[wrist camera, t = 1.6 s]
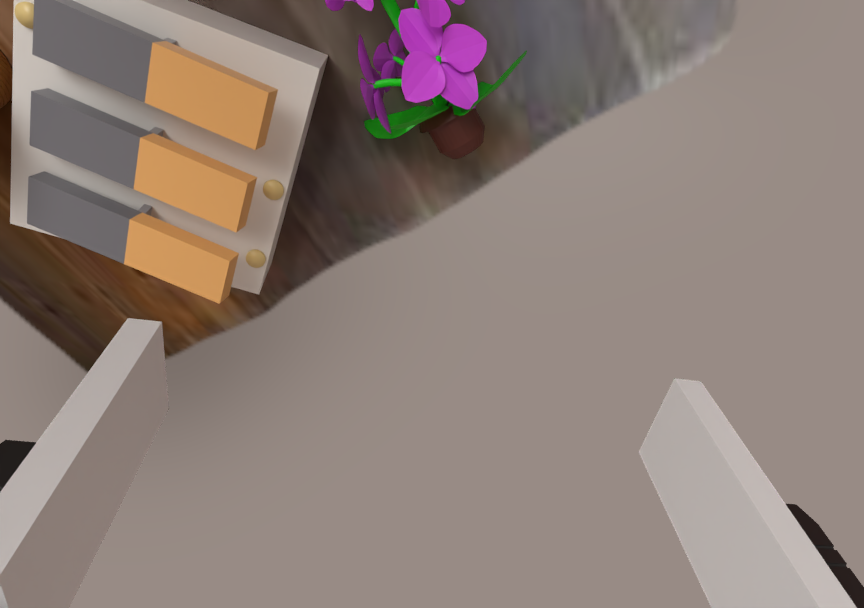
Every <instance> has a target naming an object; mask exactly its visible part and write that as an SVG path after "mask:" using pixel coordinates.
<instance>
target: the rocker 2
mask: <svg viewBox="0 0 864 608" xmlns="http://www.w3.org/2000/svg"><path fill="white" fill-rule="evenodd" d="M27 224H29V225H32V226H34V227H37V228H39V229H41V230H44V231H46V232H49V233H51V234H53V235H56V236H58V237H61V238H63V239H65V240H68V241H70V242H73V243H75V244H77V245H80V246H82V247H85V248H87V249H89V250H92V251H94V252H97V253H99V254H101V255H104V256H106V257H109V258H111V259H113V260H116V261H118V262H121V263H123V264H125V265H128V266H130V267H133V268H135V269H137V270H140V271H142V272H145V273H147V274H149V275H152V276H154V277H157V278H159V279H161V280H164V281H166V282H169V283H171V284H173V285H176V286H178V287H181V288H183V289H185V290H188V291H190V292H192V293H195V294H197V295H200V296H202V297H204V298H207V299H209V300H212V301H214V302H216V303H219V304H220V303H221V302H222V301H223V300H224V299H225V298H226V297H228V296H229V293H230V289H231V285H232V281H233V277H234V273H235V268H236V264H237V260H238V256H239V253H237V252H235V251H233V250H230V249H228V248H226V247H223V246H221V245H218V244H216V243H214V242H211V241H209V240H207V239H204V238H202V237H199V236H197V235H195V234H192V233H190V232H188V231H185V230H183V229H180V228H178V227H176V226H173V225H171V224H169V223H166V222H164V221H161V220H159V219H157V218H154V217H152V216H150V215H147V214H145V213H142V212H140V211H138V210H135V209H133V208H131V207H128V206H126V205H123V204H121V203H119V202H116V201H114V200H112V199H109V198H107V197H104V196H102V195H100V194H97V193H95V192H93V191H90V190H88V189H85V188H83V187H81V186H78V185H76V184H74V183H71V182H69V181H66V180H64V179H62V178H59V177H57V176H55V175H52V174H50V173H47V172H45V171H43V172H40V173H37V174H35V175H32V176H29V177H28V204H27Z"/></svg>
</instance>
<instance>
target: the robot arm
mask: <svg viewBox="0 0 864 608" xmlns="http://www.w3.org/2000/svg"><path fill="white" fill-rule="evenodd" d="M168 410H169V403H168V391H167V380H166V367H165V355H164V343H163V331H162V322H159V321H150V320H141V319H131V318H128V319H127V320H126V322H125V323H124V324H123V326H122V327H121V328H120V330H119V331H118V332H117V334H116V335H115V337H114V338H113V339H112V341H111V342H110V343H109V345H108V346H107V347H106V349H105V350H104V352H103V353H102V354H101V356H100V357H99V358H98V360H97V361H96V362H95V364H94V365H93V366H92V368H91V369H90V371H89V372H88V373H87V375H86V376H85V377H84V379H83V380H82V381H81V383H80V384H79V386H78V387H77V388H76V390H75V391H74V393H73V394H72V395H71V396H70V398H69V399H68V400H67V402H66V403H65V405H64V406H63V407H62V409H61V410H60V411H59V413H58V414H57V416H56V417H55V418H54V420H53V421H52V422H51V424H50V425H49V426H48V428H47V429H46V430H45V432H44V433H43V434H42V436H41V437H40V439H39V440H38V441H37V443H36V442H24V441H12V440H5V441H4V442H2V443H1V444H0V608H69V607H70V605H71V603H72V601H73V599H74V597H75V595H76V593H77V591H78V589H79V587H80V585H81V583H82V581H83V579H84V577H85V575H86V573H87V571H88V569H89V567H90V565H91V563H92V561H93V559H94V557H95V555H96V553H97V551H98V549H99V547H100V545H101V543H102V541H103V539H104V537H105V535H106V533H107V531H108V529H109V527H110V525H111V523H112V521H113V519H114V517H115V515H116V513H117V511H118V509H119V507H120V505H121V503H122V501H123V499H124V497H125V495H126V493H127V491H128V489H129V487H130V485H131V483H132V481H133V479H134V477H135V475H136V473H137V471H138V469H139V467H140V465H141V463H142V461H143V459H144V457H145V455H146V453H147V451H148V450H149V448H150V446H151V444H152V441H153V440H154V438H155V435H156V434H157V432H158V430H159V428H160V426H161V424H162V422H163V419H164V418H165V415H166V414H167V412H168ZM639 454H640V456H641V459H642V461H643V463H644V465H645V467H646V469H647V471H648V474H649V476H650V478H651V480H652V482H653V484H654V486H655V489H656V490H657V493H658V495H659V497H660V499H661V501H662V503H663V505H664V507H665V510H666V512H667V514H668V516H669V518H670V520H671V522H672V525H673V527H674V529H675V531H676V533H677V535H678V538H679V540H680V542H681V544H682V546H683V548H684V550H685V552H686V554H687V556H688V559H689V561H690V563H691V565H692V567H693V570H694V572H695V574H696V576H697V578H698V580H699V582H700V584H701V586H702V589H703V591H704V593H705V595H706V597H707V599H708V601H709V604H710V606H711V608H864V587H863V586H862V585H861V583H860V582H859V580H858V579H857V578H856V576H855V575H854V573H853V572H852V571H851V569H850V568H847V567H846V562H845V561H844V560H843V558H842V557H841V555H840V554H839V553H838V551H837V550H834V548H833V547H834V546H833V544H832V543H831V541H830V540H829V539H828V537H827V536H826V535H825V533H824V532H823V530H822V529H821V528H820V526H819V525H818V524H817V523H816V522H815V521H814V520H813V519H812V518H811V517H809V516H808V515H807V514H806V513H805V512H804V511H803V510H802V509H800V508H799V507H798V506H797V505H795V504H785V503H784V501H783V500H782V498H781V497H780V495H779V494H778V493H777V491H776V490H775V488H774V487H773V485H772V484H771V482H770V481H769V479H768V478H767V477H766V475H765V474H764V472H763V471H762V469H761V468H760V466H759V465H758V464H757V462H756V461H755V459H754V458H753V456H752V455H751V453H750V452H749V450H748V449H747V448H746V446H745V445H744V443H743V442H742V440H741V439H740V437H739V436H738V435H737V433H736V432H735V430H734V429H733V427H732V426H731V424H730V423H729V421H728V420H727V419H726V417H725V416H724V414H723V413H722V411H721V410H720V408H719V407H718V405H717V404H716V403H715V401H714V400H713V398H712V397H711V395H710V394H709V392H708V391H707V390H706V388H705V387H704V385H703V384H702V382H701V381H693V380H684V379H674V380H673V382H672V384H671V386H670V388H669V390H668V392H667V394H666V397H665V399H664V401H663V403H662V405H661V407H660V409H659V411H658V413H657V415H656V417H655V419H654V421H653V423H652V425H651V427H650V429H649V432H648V434H647V436H646V438H645V440H644V442H643V444H642V446H641V448H640V450H639Z"/></svg>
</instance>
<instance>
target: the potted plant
mask: <svg viewBox="0 0 864 608" xmlns="http://www.w3.org/2000/svg"><path fill="white" fill-rule="evenodd" d="M345 1H351V0H325V2H326V5H327V7H328V8H330V9H331V10H332V11H338V10H340V9H341V8H342V7H343V6H344V3H345ZM352 1H354V2H355V3H358V4H359V5H360V6H361V7H362V8H364V9H365V10H367V11H372V9H373V6H374V3H373V0H352ZM380 1H381V3H382V5H383V7H384V8H385V10H386V12H387V14H388V16H389V18H390V19H391V21H392V23H393V25H394V27H395V29H394V30H393V31H392V33H391V35H390V38H389V48H390V51H391V52H392V54H393V55H394V56H393V55H392V54H391V53H390V52H389V49H388V46H387V44H386V43H381V44H380V45H379V46H378V47H377V49H376V51H375V53H374V57H373V64H374V67H375V69H376V70H378V71H380V72H381V77H380V75H379V74H378V73H377V72H376V71H375V70H374V69H373V68H372V67H371V64H370V61H369V58H368V55H367V52H366V48H365V45H364V42H363V39H362V37H361V35H359V40H358V57H359V62H360V66H361V69H362V72H363V75H364V77H365V78H366V80H367V81H368V82H371V83H373V84H372V85H370V84H367V83H366V82H365V81H364V79H362V78H361V81H360V87H361V92H362V95H363V98H364V101H365V104H366V107H367V109H368V112H369V115H370V117H371V119H370V120H366V121H364V124H365V128H366V129H367V130H368V131H369V132H370V133H371V134H372V135H373V136H375V137H376V138H382V139H392V138H396V137H398V136H401V135H402V134H404V133H406V132H407V131H409V130H410V129H411V128H413V127H414V126H416V125H417V124H419V123H420V132H421V133H425V132H429V134H430V136H431V137H432V139H433V141H434V143H435V144H436V146H437V148H438V150H439V151H440V153H442V154H444V155H446V156H448V157H450V158H452V159H458V158H461V157H463V156H465V155H467V154H469V153H470V152H472V151H474V150H475V149H476V148H478V147H479V146H480V145H481V144H482V143H483V139H484V128H485V126H484V124H483V122H482V120H481V118H480V116H479V114H478V112H477V110H476V105H477V104H478V103H479V102H480V101H481V100H482V99H483V98H485V97H486V96H487V95H488V94H490V93H491V92H492V91H494V90H495V89H497V88H498V87H499V86H500V85H501V84H502V83H503V82H504V80H505V79H506V78H507V77H508V76H509V74H510V73H511V72H512V71H513V70H514V68H515V67H516V66H517V65H518V64H519V63H520V61H521V60H522V59H523V57H524V56H525V55H526V52H527V50H526V51H525V52H524V53H523V54H522V55H521V56H520V57H519V58H518V59H517V60H516V61H515V62H514V63H513V64H512V65H511V66H510V68H509V69H508V70H507V71H506V72H505V73H504V74H503V75H502V76H501V77H500V78H499V80H498V81H497V82H496V83H495V84H493V85H491V84H488V83H485V82H480V83H479V84H477V80H476V76H475V73H474V71H473V69H474V68H475V67H476V66H477V65H478V64H479V63H480V62H481V60H482V59H483V57H484V55H485V53H486V47H487V40H486V39H485V38H484V37H483V36H482V35H481V34H480V33H479V32H478V31H476V30H475V29H473V28H471V27H469V26H467V25H464V24H452V25H450V26H448V27H446V29H445V30H444V33H443V29H442V26H443V25H444V24H446V23H447V22H448V21H449V19H450V17H451V12H450V8H449V6H448V5H447V3H446V1H445V0H416V1H415V5H414V8H408V9H403V10H400V8H399V6H398V4H397V3H396V1H395V0H380ZM450 1H452V2H453V3H455V4H458V5H461V4H463V3H464V2H465V0H450ZM419 8H420V9H419ZM441 44H442V48H441ZM404 45H405V47H406V49H407V51H408V53H409V55H408V56H407V57H406V56H405V53H404V51H403V50H402V49H403V46H404ZM440 48H441V53H440ZM393 60H394V61H393ZM396 76H397V77H398V76H402V79H395V78H396ZM391 86H400V87H402V91H403V94H404V96H405V99H406V100H407V101H411V102H415V103H418V102H422V101H426V100H429V99H431V100H432V102H433V103H434V104H433V105H431V106H430V107H425V106H415V107H413V108H410V109H408V110H405V111H402V112H398V113H394V114H390V115H387V113H386V109H385V106H384V102H383V95H384V90H385V92H388V91H389V90H390V88H391ZM373 94H374V95H373ZM375 109H376V113H377V116H378V118H375Z"/></svg>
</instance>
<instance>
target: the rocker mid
mask: <svg viewBox="0 0 864 608" xmlns="http://www.w3.org/2000/svg"><path fill="white" fill-rule="evenodd" d="M29 145H30V146H32V147H35V148H37V149H40V150H42V151H44V152H47V153H49V154H51V155H54V156H56V157H59V158H61V159H63V160H66V161H68V162H70V163H73V164H75V165H77V166H80V167H82V168H85V169H87V170H89V171H92V172H94V173H96V174H99V175H101V176H103V177H106V178H108V179H111V180H113V181H115V182H118V183H120V184H122V185H125V186H127V187H129V188H132V189H134V190H137V191H139V192H141V193H144V194H146V195H148V196H151V197H153V198H156V199H158V200H160V201H163V202H165V203H167V204H170V205H172V206H174V207H177V208H179V209H182V210H184V211H186V212H189V213H191V214H193V215H196V216H198V217H200V218H203V219H205V220H208V221H210V222H212V223H215V224H217V225H219V226H222V227H224V228H227V229H229V230H231V231H234V232H238V231H239V230H240V229H242V228H243V227H244V226H246V222H247V218H248V214H249V210H250V206H251V201H252V197H253V193H254V189H255V185H256V180H257V177H255V176H253V175H250V174H248V173H246V172H243V171H241V170H239V169H236V168H234V167H232V166H229V165H227V164H225V163H222V162H220V161H218V160H215V159H213V158H211V157H208V156H206V155H204V154H201V153H199V152H197V151H194V150H192V149H190V148H187V147H185V146H183V145H180V144H178V143H176V142H173V141H171V140H168V139H166V138H164V137H161V136H159V135H157V134H154V133H152V132H150V131H147V130H145V129H143V128H140V127H138V126H136V125H133V124H131V123H129V122H126V121H124V120H122V119H119V118H117V117H115V116H112V115H110V114H108V113H105V112H103V111H101V110H98V109H96V108H94V107H91V106H89V105H87V104H84V103H82V102H80V101H77V100H75V99H72V98H70V97H68V96H65V95H63V94H61V93H58V92H56V91H54V90H51V89H49V88H46V89H40V90H34V91H31V111H30V142H29Z"/></svg>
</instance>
